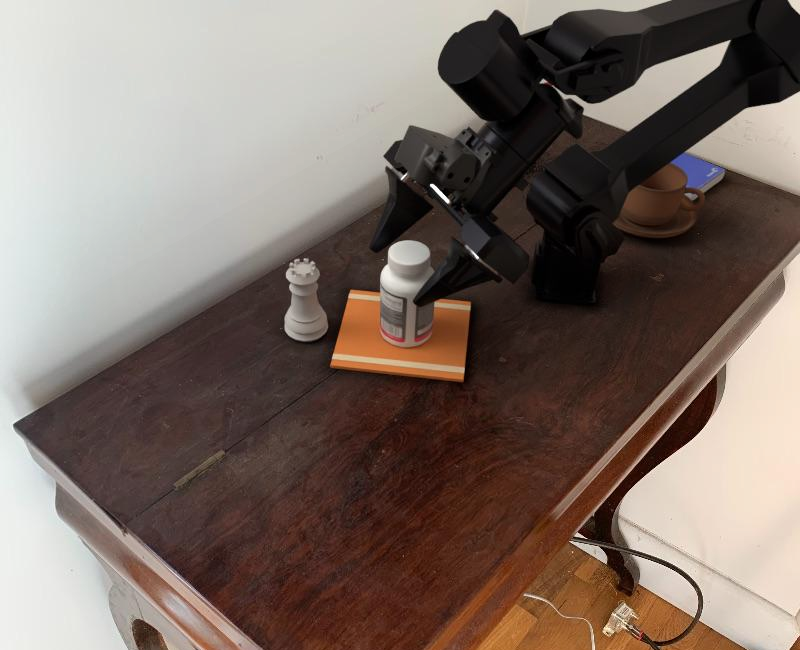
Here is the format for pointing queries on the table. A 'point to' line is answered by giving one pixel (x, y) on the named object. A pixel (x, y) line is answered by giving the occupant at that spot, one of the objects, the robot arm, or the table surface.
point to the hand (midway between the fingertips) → (393, 276)
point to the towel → (373, 353)
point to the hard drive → (698, 173)
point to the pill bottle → (405, 295)
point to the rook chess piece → (304, 303)
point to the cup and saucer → (660, 205)
